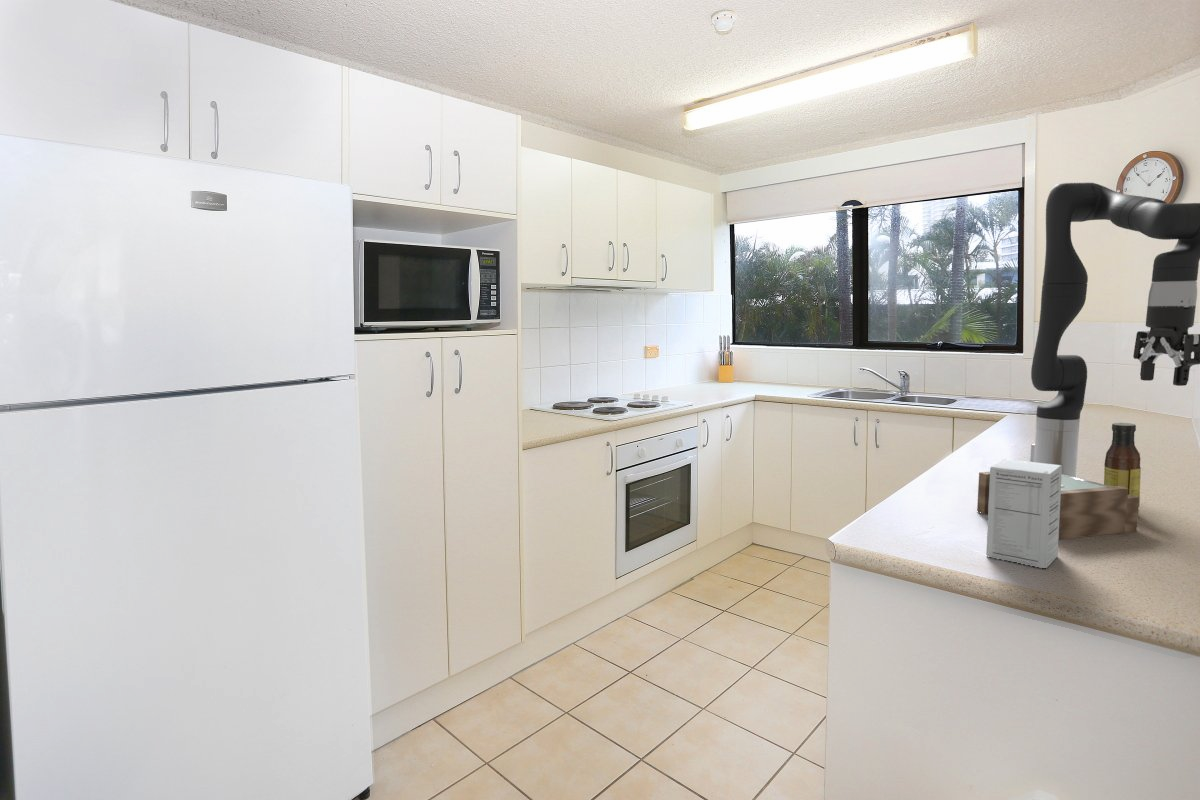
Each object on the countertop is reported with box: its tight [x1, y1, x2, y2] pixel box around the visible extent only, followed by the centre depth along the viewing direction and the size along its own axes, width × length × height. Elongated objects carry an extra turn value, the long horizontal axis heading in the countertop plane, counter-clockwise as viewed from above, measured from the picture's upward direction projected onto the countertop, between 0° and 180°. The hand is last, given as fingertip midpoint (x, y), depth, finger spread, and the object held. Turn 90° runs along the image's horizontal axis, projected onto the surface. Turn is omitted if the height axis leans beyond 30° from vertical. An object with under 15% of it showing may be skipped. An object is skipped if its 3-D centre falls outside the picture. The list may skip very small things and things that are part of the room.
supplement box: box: [986, 458, 1062, 569], centre depth 118 cm, size 10×9×17 cm
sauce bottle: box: [1103, 422, 1142, 512], centre depth 143 cm, size 7×6×20 cm
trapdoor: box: [1061, 474, 1112, 491], centre depth 138 cm, size 17×14×1 cm
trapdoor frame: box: [976, 471, 1140, 540], centre depth 138 cm, size 20×19×9 cm
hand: (1162, 382), depth 137 cm, fingers open, 8 cm apart
